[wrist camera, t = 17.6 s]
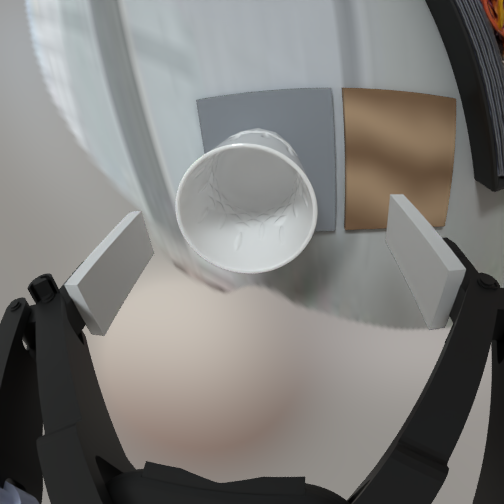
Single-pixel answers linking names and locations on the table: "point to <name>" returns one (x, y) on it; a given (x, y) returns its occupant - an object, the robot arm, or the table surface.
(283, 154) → the white cup
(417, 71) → the table surface
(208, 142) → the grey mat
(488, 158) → the food platter
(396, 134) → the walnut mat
